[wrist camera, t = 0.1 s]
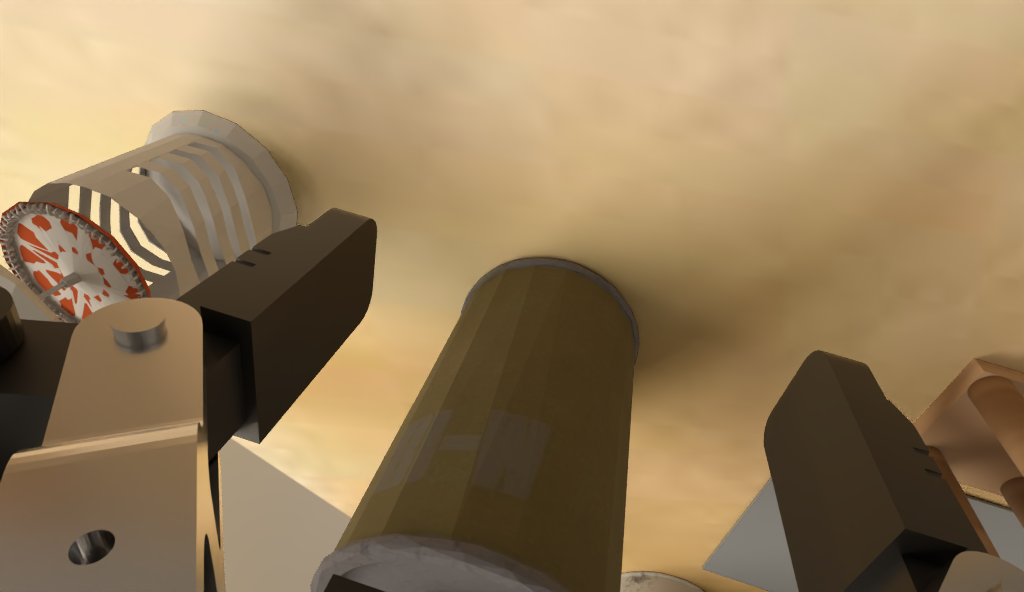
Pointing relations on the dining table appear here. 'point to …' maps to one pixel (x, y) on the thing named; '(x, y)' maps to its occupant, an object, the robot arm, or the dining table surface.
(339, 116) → the dining table surface
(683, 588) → the grey mottled cylinder
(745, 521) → the mat
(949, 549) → the robot arm
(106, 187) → the french press
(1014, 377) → the wooden dowel frame
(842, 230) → the dining table surface
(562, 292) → the canister
